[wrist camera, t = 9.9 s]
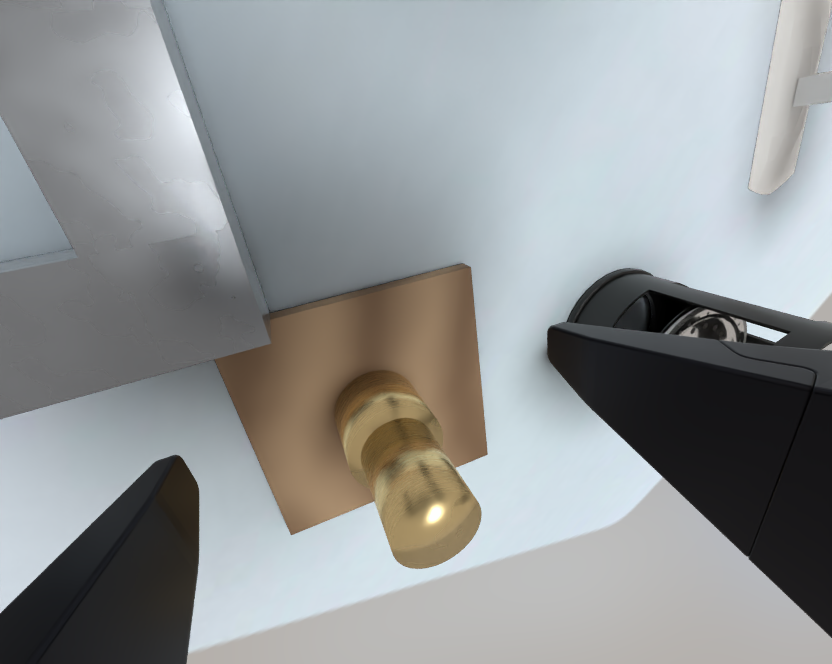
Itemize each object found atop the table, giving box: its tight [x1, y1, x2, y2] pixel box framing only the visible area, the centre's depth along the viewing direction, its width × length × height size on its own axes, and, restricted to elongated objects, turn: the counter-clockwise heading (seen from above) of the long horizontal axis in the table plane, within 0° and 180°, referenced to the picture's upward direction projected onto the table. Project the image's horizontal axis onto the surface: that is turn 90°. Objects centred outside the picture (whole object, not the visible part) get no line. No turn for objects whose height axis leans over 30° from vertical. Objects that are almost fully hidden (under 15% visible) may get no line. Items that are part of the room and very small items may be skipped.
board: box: [214, 264, 488, 535], centre depth 23 cm, size 14×14×1 cm
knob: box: [334, 370, 481, 569], centre depth 19 cm, size 5×5×9 cm
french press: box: [567, 268, 832, 350], centre depth 19 cm, size 12×9×23 cm
